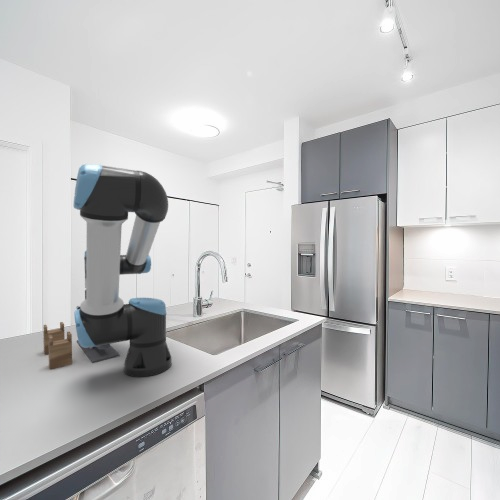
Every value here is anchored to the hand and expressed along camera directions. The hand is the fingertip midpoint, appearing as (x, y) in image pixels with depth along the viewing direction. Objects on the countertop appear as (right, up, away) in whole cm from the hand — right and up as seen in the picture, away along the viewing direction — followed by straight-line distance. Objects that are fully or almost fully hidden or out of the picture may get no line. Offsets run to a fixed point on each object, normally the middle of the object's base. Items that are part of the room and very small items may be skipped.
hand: (96, 346), depth 108 cm
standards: (-9, -1, -9) cm, 13 cm away
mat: (0, -1, 0) cm, 1 cm away
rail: (0, +2, 0) cm, 2 cm away
